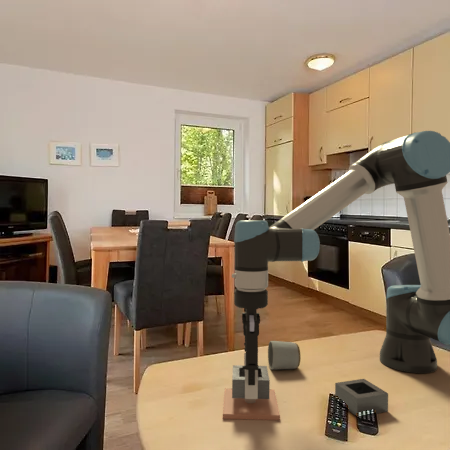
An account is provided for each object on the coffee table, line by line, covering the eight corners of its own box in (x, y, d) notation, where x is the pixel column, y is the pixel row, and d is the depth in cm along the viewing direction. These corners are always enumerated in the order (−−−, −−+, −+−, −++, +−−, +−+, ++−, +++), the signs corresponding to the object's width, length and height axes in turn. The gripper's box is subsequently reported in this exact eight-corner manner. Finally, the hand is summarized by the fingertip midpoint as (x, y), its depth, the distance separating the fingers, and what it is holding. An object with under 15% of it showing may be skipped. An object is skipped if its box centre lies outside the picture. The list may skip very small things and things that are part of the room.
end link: (266, 382, 88) (266, 366, 88) (269, 399, 80) (269, 380, 80) (232, 382, 89) (232, 365, 89) (232, 398, 81) (232, 379, 81)
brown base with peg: (274, 393, 90) (274, 355, 90) (279, 420, 78) (280, 375, 78) (224, 392, 91) (224, 354, 91) (222, 418, 79) (222, 374, 79)
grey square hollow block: (363, 395, 90) (364, 378, 90) (387, 411, 82) (388, 393, 82) (335, 400, 87) (335, 382, 87) (357, 417, 80) (357, 398, 80)
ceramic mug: (301, 372, 103) (302, 344, 103) (272, 373, 102) (272, 345, 102) (291, 359, 113) (291, 333, 113) (264, 360, 112) (264, 334, 112)
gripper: (234, 280, 95) (234, 370, 95) (233, 297, 74) (233, 412, 74) (264, 281, 94) (263, 370, 95) (271, 298, 74) (271, 413, 74)
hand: (250, 388), depth 84 cm, fingers closed on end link, 8 cm apart
